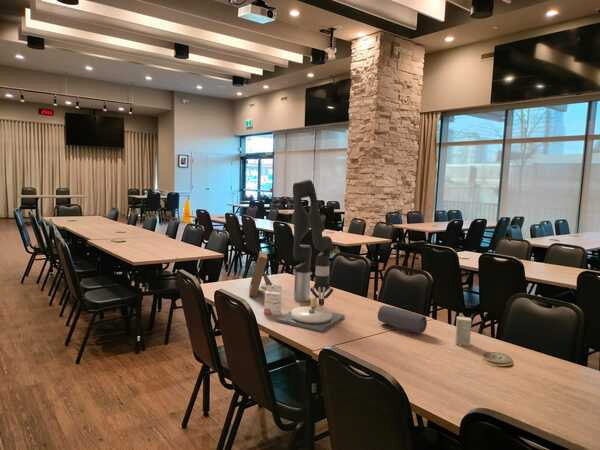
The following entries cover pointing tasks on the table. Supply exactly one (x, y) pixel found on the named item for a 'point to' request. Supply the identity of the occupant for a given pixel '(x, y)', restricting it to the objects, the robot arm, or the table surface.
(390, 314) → the bluetooth speaker
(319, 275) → the robot arm
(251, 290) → the photo frame
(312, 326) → the base plate
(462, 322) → the skincare box
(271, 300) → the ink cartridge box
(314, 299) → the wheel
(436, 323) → the table surface
